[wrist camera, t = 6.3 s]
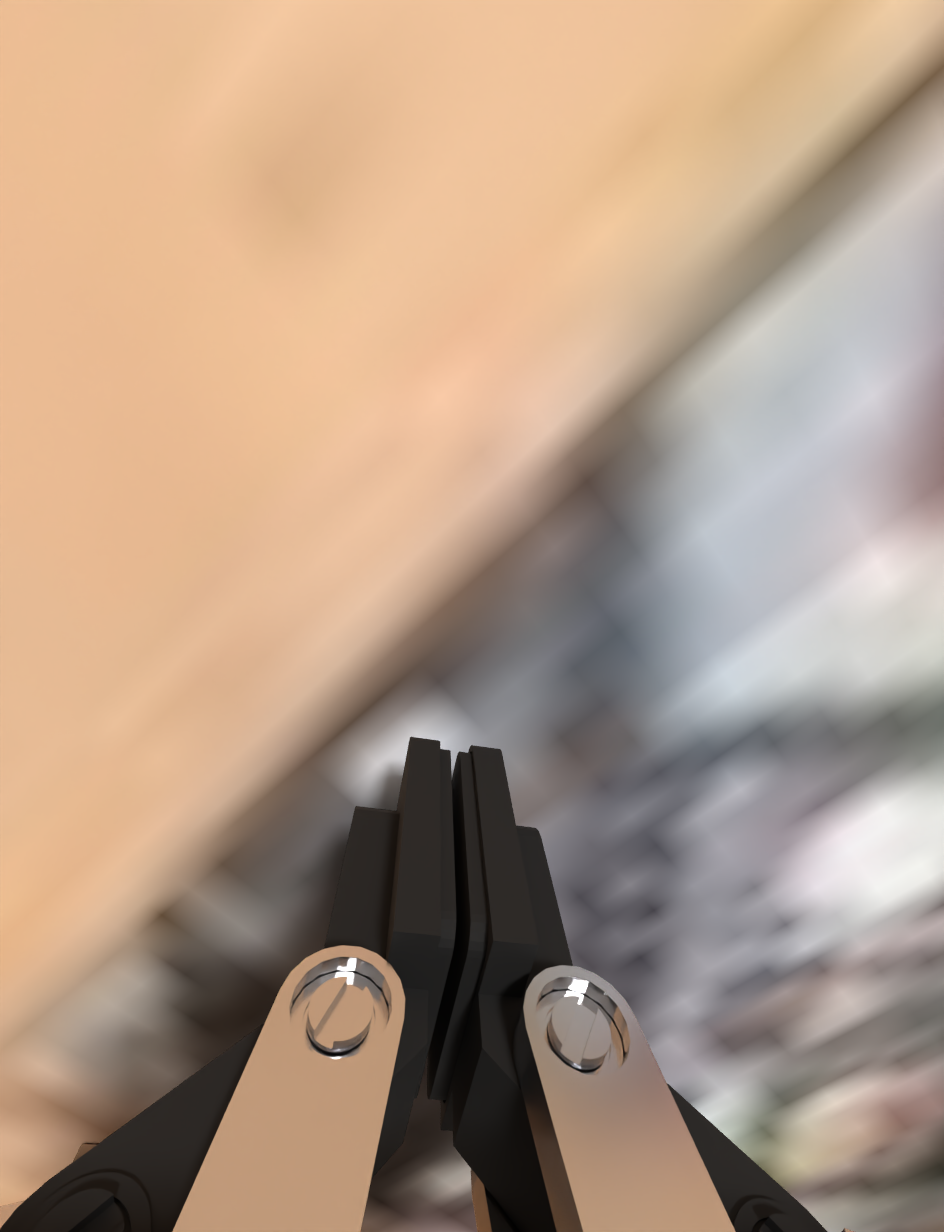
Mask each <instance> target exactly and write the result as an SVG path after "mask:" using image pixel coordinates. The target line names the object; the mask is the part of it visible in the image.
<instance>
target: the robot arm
mask: <svg viewBox="0 0 944 1232" xmlns="http://www.w3.org/2000/svg"><path fill="white" fill-rule="evenodd" d="M427 1055H428V1065H427V1095H428V1099H435V1100H441V1130H449V1131H453V1146H454V1147H455V1148H456V1149H457V1151H458V1152H459V1153H460V1155H461V1156H462V1157H463V1159H464V1160H465V1161H466V1162H467V1164H468V1165H469V1166H470V1168H471V1186H472V1198H473V1204H474V1211H475V1217H476V1224H477V1231H478V1232H827V1231H826V1230H825V1229H824V1228H823V1227H822V1225H821V1224H820V1223H819V1222H818V1221H817V1220H816V1219H815V1218H814V1217H813V1216H812V1215H811V1214H810V1213H809V1212H808V1210H807V1209H805V1208H804V1207H803V1206H802V1205H801V1204H800V1203H799V1202H798V1201H797V1200H796V1199H794V1198H793V1197H792V1196H791V1195H790V1194H789V1193H788V1192H787V1191H786V1190H784V1189H783V1188H782V1187H781V1186H780V1185H779V1184H778V1183H777V1182H776V1181H775V1180H773V1179H772V1178H771V1177H770V1176H769V1175H768V1174H767V1173H766V1172H765V1171H764V1170H762V1169H761V1168H760V1167H759V1166H758V1165H757V1164H756V1163H755V1162H754V1161H752V1160H751V1159H750V1158H749V1157H748V1156H747V1155H746V1154H745V1153H744V1152H743V1151H741V1150H740V1149H739V1148H738V1147H737V1146H736V1145H735V1144H734V1143H733V1142H731V1141H730V1140H729V1139H728V1138H727V1137H726V1136H725V1135H724V1134H723V1133H722V1132H720V1131H719V1130H718V1129H717V1128H716V1127H715V1126H714V1125H713V1124H712V1123H710V1122H709V1121H708V1120H707V1119H706V1118H705V1117H704V1116H703V1115H702V1114H701V1113H699V1112H698V1111H697V1110H696V1109H695V1108H694V1107H693V1106H692V1105H691V1104H689V1103H688V1102H687V1101H686V1100H685V1099H684V1098H683V1097H682V1096H681V1095H680V1094H678V1093H677V1092H676V1091H675V1090H674V1089H673V1088H672V1087H671V1086H670V1085H669V1084H667V1083H666V1081H665V1079H664V1077H663V1075H662V1072H661V1070H660V1068H659V1066H658V1064H657V1062H656V1060H655V1057H654V1055H653V1053H652V1051H651V1049H650V1047H649V1044H648V1042H647V1040H646V1038H645V1036H644V1034H643V1032H642V1029H641V1027H640V1025H639V1023H638V1021H637V1019H636V1017H635V1015H634V1013H633V1012H632V1010H631V1009H630V1007H629V1005H628V1004H627V1002H626V1000H625V999H624V998H623V997H622V996H621V995H620V994H619V993H618V992H617V990H616V989H615V988H614V987H613V986H612V985H611V984H609V983H608V982H607V981H605V980H604V979H602V978H601V977H599V976H598V975H596V974H595V973H593V972H590V971H587V970H585V969H582V968H580V967H576V966H573V964H572V960H571V956H570V952H569V948H568V944H567V940H566V936H565V932H564V928H563V924H562V920H561V916H560V912H559V908H558V904H557V900H556V896H555V892H554V888H553V884H552V880H551V876H550V872H549V868H548V864H547V859H546V855H545V851H544V847H543V843H542V839H541V836H540V833H539V831H538V830H537V829H536V828H531V827H523V826H516V824H515V819H514V813H513V808H512V803H511V798H510V793H509V787H508V782H507V777H506V772H505V767H504V761H503V756H502V752H501V750H500V749H495V748H487V747H480V746H473V745H471V746H470V749H469V752H468V753H465V752H459V753H458V755H457V759H456V763H455V768H454V772H453V777H452V779H451V753H450V750H443V749H440V741H437V740H430V739H422V738H415V737H410V741H409V745H408V751H407V756H406V762H405V767H404V773H403V778H402V784H401V789H400V795H399V800H398V805H397V811H391V810H383V809H375V808H367V807H358V806H356V807H355V811H354V815H353V820H352V824H351V829H350V833H349V838H348V842H347V847H346V852H345V856H344V861H343V865H342V870H341V874H340V879H339V883H338V888H337V893H336V897H335V902H334V906H333V911H332V915H331V920H330V925H329V929H328V934H327V938H326V943H325V947H324V949H322V950H320V951H318V952H316V953H314V954H312V955H310V956H309V957H307V958H305V959H304V960H303V961H302V962H301V963H300V964H299V965H297V966H296V967H295V968H294V969H293V970H292V971H291V972H290V974H289V975H288V977H287V979H286V980H285V982H284V983H283V985H282V987H281V988H280V990H279V992H278V995H277V997H276V999H275V1001H274V1004H273V1006H272V1008H271V1011H270V1013H269V1015H268V1017H267V1020H266V1022H265V1023H264V1024H262V1025H261V1026H260V1027H258V1028H257V1029H256V1030H254V1031H253V1032H251V1033H250V1034H249V1035H247V1036H246V1037H245V1038H243V1039H242V1040H240V1041H239V1042H238V1043H236V1044H235V1045H234V1046H232V1047H231V1048H229V1049H228V1050H227V1051H225V1052H224V1053H223V1054H221V1055H220V1056H218V1057H217V1058H216V1059H214V1060H213V1061H212V1062H210V1063H209V1064H207V1065H206V1066H205V1067H203V1068H202V1069H201V1070H199V1071H198V1072H196V1073H195V1074H194V1075H192V1076H191V1077H190V1078H188V1079H187V1080H185V1081H184V1082H183V1083H181V1084H180V1085H179V1086H177V1087H176V1088H174V1089H173V1090H172V1091H170V1092H169V1093H168V1094H166V1095H165V1096H163V1097H162V1098H161V1099H159V1100H158V1101H157V1102H155V1103H154V1104H152V1105H151V1106H150V1107H148V1108H147V1109H146V1110H144V1111H143V1112H141V1113H140V1114H139V1115H137V1116H136V1117H135V1118H133V1119H132V1120H130V1121H129V1122H128V1123H126V1124H125V1125H124V1126H122V1127H121V1128H120V1129H118V1130H117V1131H115V1132H114V1133H113V1134H111V1135H110V1136H109V1137H107V1138H106V1139H104V1140H103V1141H102V1142H100V1143H99V1144H98V1145H96V1146H95V1147H93V1148H92V1149H91V1150H89V1151H88V1152H87V1153H85V1154H84V1155H82V1156H81V1157H80V1158H78V1159H77V1160H76V1161H74V1162H73V1163H71V1164H70V1165H69V1166H67V1167H66V1168H65V1169H63V1170H62V1171H60V1172H59V1173H58V1174H56V1175H55V1176H54V1177H52V1178H51V1179H49V1180H48V1181H47V1182H46V1183H45V1184H43V1185H42V1186H41V1187H40V1188H39V1189H38V1190H37V1191H35V1192H34V1193H33V1194H32V1195H31V1196H30V1197H29V1198H28V1199H26V1200H25V1201H21V1202H17V1203H13V1204H9V1205H4V1206H0V1232H360V1231H361V1226H362V1221H363V1216H364V1211H365V1207H366V1202H367V1197H368V1192H369V1187H370V1182H371V1179H372V1177H373V1176H374V1175H375V1174H376V1173H377V1172H378V1171H379V1169H380V1168H381V1167H382V1166H383V1165H384V1164H385V1163H386V1162H387V1160H388V1159H389V1158H390V1157H391V1156H392V1155H393V1154H394V1152H395V1151H396V1150H397V1149H398V1148H399V1147H400V1146H401V1144H402V1143H403V1140H404V1136H405V1132H406V1128H407V1124H408V1120H409V1116H410V1112H411V1107H412V1103H413V1099H414V1098H417V1095H418V1091H419V1087H420V1083H421V1079H422V1075H423V1071H424V1067H425V1063H426V1059H427ZM842 1232H854V1231H851V1230H848V1229H845V1228H844V1229H843V1231H842Z"/></svg>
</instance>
